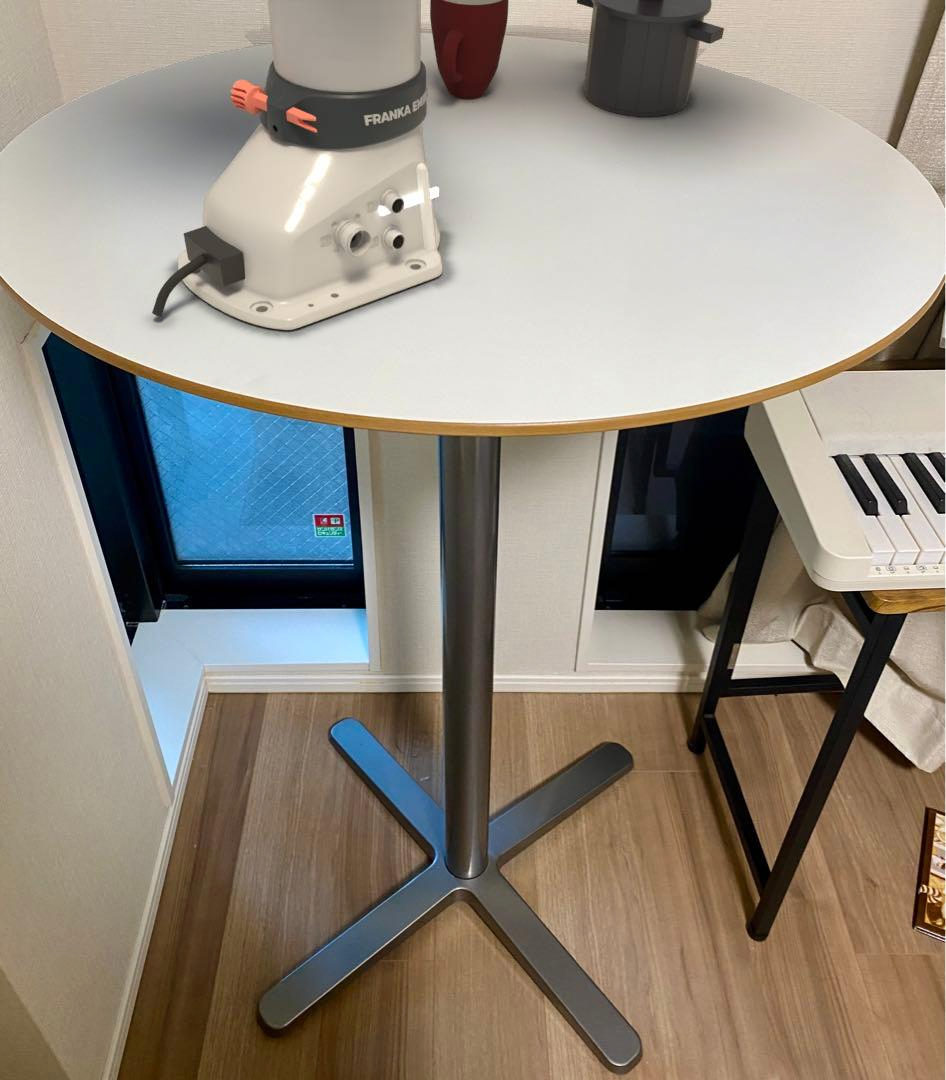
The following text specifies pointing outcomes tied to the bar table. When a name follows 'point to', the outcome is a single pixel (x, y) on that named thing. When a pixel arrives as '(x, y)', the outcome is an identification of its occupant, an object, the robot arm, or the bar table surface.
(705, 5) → the pot lid
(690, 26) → the dark grey pot
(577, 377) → the bar table surface
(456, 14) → the mug
